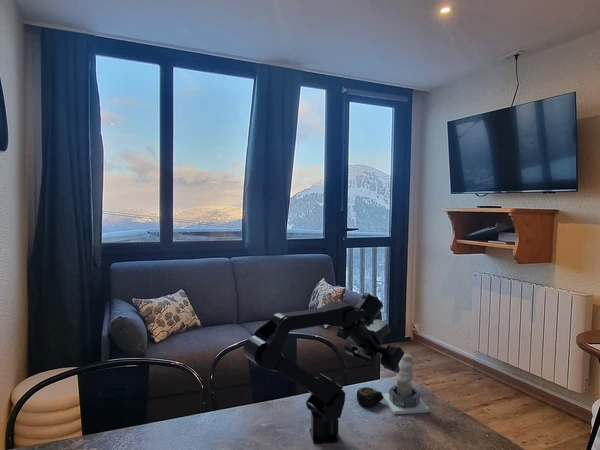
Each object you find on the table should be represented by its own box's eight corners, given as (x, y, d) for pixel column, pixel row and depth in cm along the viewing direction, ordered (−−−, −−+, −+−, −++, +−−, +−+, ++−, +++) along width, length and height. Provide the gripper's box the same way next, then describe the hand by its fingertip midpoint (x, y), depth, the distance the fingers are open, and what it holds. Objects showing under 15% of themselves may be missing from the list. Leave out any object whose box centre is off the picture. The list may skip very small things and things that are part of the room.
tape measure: (369, 410, 121) (369, 398, 121) (352, 402, 126) (352, 390, 126) (383, 403, 126) (383, 391, 126) (366, 395, 131) (366, 384, 131)
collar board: (393, 414, 119) (393, 411, 119) (381, 396, 130) (381, 393, 130) (429, 412, 120) (429, 408, 120) (414, 394, 131) (414, 391, 131)
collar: (396, 408, 120) (396, 398, 120) (386, 395, 129) (386, 386, 129) (423, 406, 121) (423, 397, 121) (412, 393, 130) (412, 384, 130)
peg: (403, 405, 122) (404, 360, 121) (393, 399, 126) (394, 355, 125) (415, 402, 124) (415, 357, 123) (404, 396, 128) (405, 352, 127)
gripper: (399, 318, 109) (425, 352, 116) (351, 306, 124) (375, 337, 131) (379, 353, 104) (407, 386, 111) (331, 336, 119) (358, 367, 126)
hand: (386, 367), depth 120 cm, fingers open, 9 cm apart
